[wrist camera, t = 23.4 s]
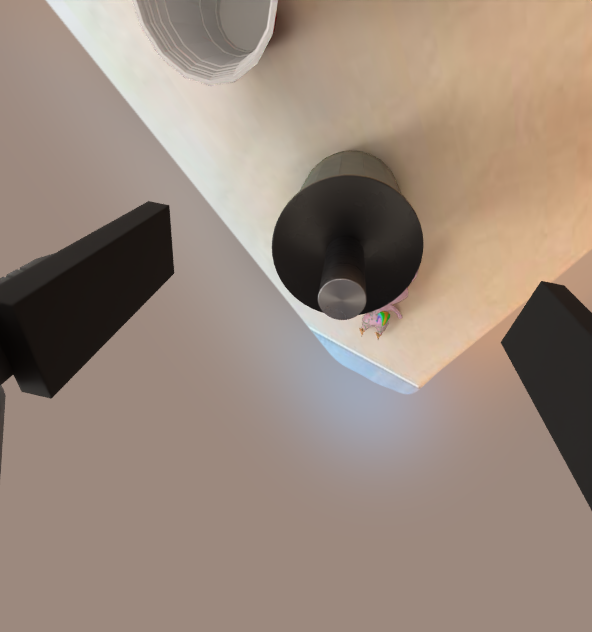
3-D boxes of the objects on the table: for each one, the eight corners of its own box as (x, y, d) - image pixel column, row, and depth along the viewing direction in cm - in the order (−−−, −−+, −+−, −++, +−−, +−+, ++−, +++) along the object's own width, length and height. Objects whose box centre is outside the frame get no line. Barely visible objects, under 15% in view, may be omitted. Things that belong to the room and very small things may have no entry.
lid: (447, 191, 26) (481, 230, 19) (392, 322, 33) (401, 386, 26) (285, 156, 26) (259, 182, 19) (266, 293, 33) (242, 349, 26)
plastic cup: (180, 51, 35) (110, 38, 25) (210, -94, 29) (135, -188, 19) (274, 106, 36) (244, 114, 26) (322, -21, 30) (306, -73, 20)
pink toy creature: (389, 328, 52) (433, 245, 41) (391, 358, 47) (439, 274, 37) (350, 318, 52) (383, 233, 41) (347, 348, 47) (384, 261, 37)
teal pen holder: (413, 162, 37) (440, 197, 25) (380, 257, 44) (389, 320, 32) (311, 140, 38) (290, 164, 26) (293, 238, 44) (271, 294, 32)
